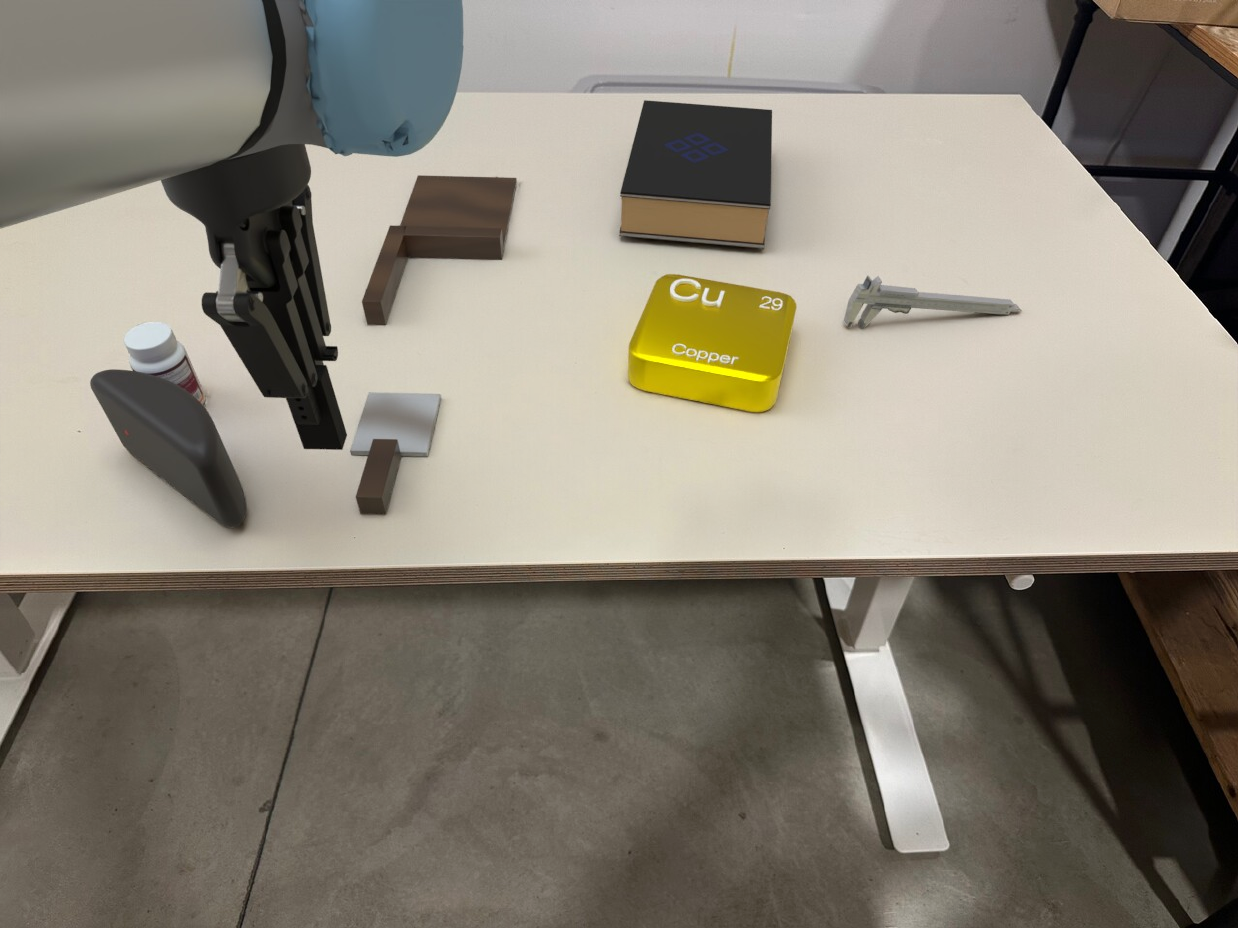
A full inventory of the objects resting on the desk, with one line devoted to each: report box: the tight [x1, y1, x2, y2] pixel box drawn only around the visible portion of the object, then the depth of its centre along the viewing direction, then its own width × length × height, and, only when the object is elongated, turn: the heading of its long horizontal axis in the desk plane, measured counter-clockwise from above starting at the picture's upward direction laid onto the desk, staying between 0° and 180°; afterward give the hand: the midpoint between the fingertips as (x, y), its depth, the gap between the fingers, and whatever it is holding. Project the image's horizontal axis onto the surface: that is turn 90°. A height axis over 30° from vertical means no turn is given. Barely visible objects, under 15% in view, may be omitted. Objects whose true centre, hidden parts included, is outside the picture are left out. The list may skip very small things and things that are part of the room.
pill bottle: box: [123, 321, 206, 406], centre depth 80 cm, size 5×5×8 cm
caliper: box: [843, 275, 1023, 330], centre depth 92 cm, size 20×1×6 cm, turn 100°
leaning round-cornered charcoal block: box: [89, 368, 247, 529], centre depth 73 cm, size 16×5×9 cm, turn 53°
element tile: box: [627, 273, 798, 413], centre depth 88 cm, size 15×15×5 cm
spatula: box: [349, 391, 442, 515], centre depth 78 cm, size 15×7×2 cm, turn 179°
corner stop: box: [361, 175, 518, 326], centre depth 102 cm, size 32×13×3 cm, turn 179°
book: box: [618, 99, 773, 250], centre depth 110 cm, size 17×25×7 cm
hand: (325, 441), depth 61 cm, fingers closed
